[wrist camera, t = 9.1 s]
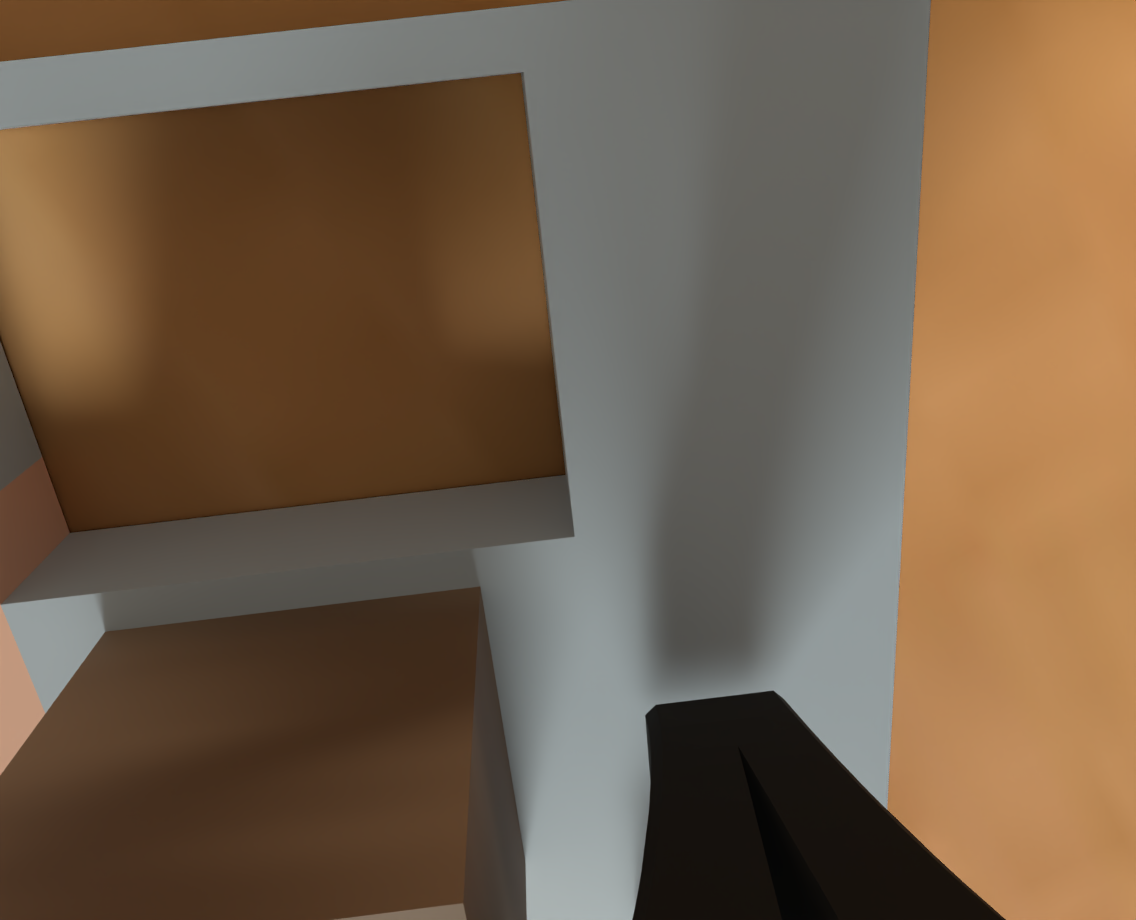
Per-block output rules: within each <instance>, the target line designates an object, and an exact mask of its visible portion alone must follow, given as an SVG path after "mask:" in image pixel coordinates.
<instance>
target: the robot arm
mask: <svg viewBox="0 0 1136 920" xmlns="http://www.w3.org/2000/svg"><path fill="white" fill-rule="evenodd" d="M645 720H646V733H647V745H648V758H649V771H650V801H649V814H648V822H647V830H646V838H645V846H644V854H643V862H642V870H641V877H640V883H639V889H638V894H637V899H636V904H635V909H634V914H633V919H632V920H1005V919H1004V918H1003V917H1002V916H1001V915H1000V914H999V913H998V912H996V911H995V910H994V909H993V908H992V907H991V906H990V905H988V904H987V903H986V902H985V901H984V900H983V899H982V898H980V897H979V896H978V895H977V894H976V893H975V892H974V891H973V890H971V889H970V888H969V887H968V886H967V885H966V884H965V883H964V882H962V881H961V880H960V879H959V878H958V877H957V876H956V875H955V874H954V873H953V872H952V871H951V870H949V869H948V868H947V867H946V866H945V865H944V864H943V863H942V862H941V861H940V860H939V859H938V858H936V857H935V856H934V855H933V854H932V853H931V852H930V851H929V850H928V849H927V848H926V847H925V846H924V845H923V844H922V843H921V842H920V841H919V840H918V839H917V838H916V837H915V836H914V835H913V834H912V833H911V832H910V831H909V830H907V829H906V828H905V827H904V826H903V825H902V824H901V823H900V822H899V821H898V820H897V819H896V818H895V817H894V816H893V815H892V814H891V813H890V812H889V811H888V810H887V809H886V808H885V807H884V806H883V805H882V804H881V803H880V802H879V801H878V800H877V799H876V798H875V797H874V796H873V795H872V794H871V793H870V792H869V791H868V790H867V789H866V788H865V787H864V786H863V785H862V784H861V783H860V782H859V781H858V780H857V779H856V778H855V777H854V775H853V774H852V773H851V772H850V771H849V770H848V769H847V768H846V767H845V766H844V765H843V764H842V763H841V762H840V761H839V760H838V759H837V758H836V756H835V755H834V754H833V753H832V752H831V751H830V750H829V749H828V748H827V747H826V746H825V745H824V743H823V742H822V741H821V740H820V739H819V738H818V737H817V736H816V735H815V734H814V732H813V731H812V730H811V729H810V728H809V727H808V726H807V725H806V724H805V722H804V721H803V720H802V719H801V718H800V717H799V716H798V714H797V713H796V712H795V711H794V710H793V709H792V708H791V706H790V705H789V704H788V703H787V702H786V701H785V700H784V699H783V698H782V697H781V696H780V695H778V694H777V693H776V692H775V691H765V692H757V693H749V694H740V695H732V696H724V697H715V698H707V699H699V700H691V701H682V702H674V703H666V704H657V705H655V706H654V707H653V708H652V709H651V710H650V711H649V712H648V713H647V714H646V715H645Z"/></svg>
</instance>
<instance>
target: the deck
mask: <svg viewBox="0 0 1136 920" xmlns="http://www.w3.org/2000/svg"><path fill="white" fill-rule="evenodd" d="M930 4H931V0H568V1H559V2H550V3H540V4H531V5H522V6H513V7H503V8H494V9H485V10H476V11H466V12H457V13H448V14H439V15H429V16H420V17H411V18H401V19H392V20H383V21H374V22H364V23H355V24H346V25H337V26H327V27H318V28H309V29H300V30H290V31H281V32H272V33H262V34H253V35H244V36H235V37H225V38H216V39H207V40H198V41H188V42H179V43H170V44H161V45H151V46H142V47H133V48H123V49H114V50H105V51H96V52H86V53H77V54H68V55H59V56H49V57H40V58H31V59H22V60H12V61H3V62H0V130H2V129H11V128H20V127H29V126H39V125H48V124H57V123H66V122H75V121H84V120H94V119H103V118H112V117H121V116H130V115H139V114H149V113H158V112H167V111H176V110H185V109H194V108H203V107H213V106H222V105H231V104H240V103H249V102H258V101H268V100H277V99H286V98H295V97H304V96H313V95H322V94H332V93H341V92H350V91H359V90H368V89H377V88H387V87H396V86H405V85H414V84H423V83H432V82H442V81H451V80H460V79H469V78H478V77H487V76H496V75H506V74H515V73H521V78H522V87H523V96H524V105H525V114H526V123H527V132H528V141H529V150H530V159H531V168H532V177H533V186H534V195H535V204H536V213H537V222H538V231H539V240H540V249H541V258H542V266H543V275H544V284H545V293H546V302H547V311H548V320H549V329H550V338H551V347H552V356H553V365H554V374H555V383H556V392H557V401H558V410H559V419H560V428H561V437H562V446H563V455H564V464H565V473H566V475H561V476H552V477H543V478H535V479H526V480H518V481H509V482H501V483H492V484H484V485H475V486H467V487H458V488H450V489H441V490H432V491H424V492H415V493H407V494H398V495H390V496H381V497H373V498H364V499H356V500H347V501H339V502H330V503H322V504H313V505H304V506H296V507H287V508H279V509H270V510H262V511H253V512H245V513H236V514H228V515H219V516H211V517H202V518H193V519H185V520H176V521H168V522H159V523H151V524H142V525H134V526H125V527H117V528H108V529H100V530H91V531H82V532H74V533H70V532H69V529H68V527H67V524H66V521H65V518H64V516H63V513H62V510H61V507H60V505H59V502H58V499H57V496H56V494H55V491H54V488H53V485H52V483H51V480H50V477H49V474H48V471H47V469H46V466H45V463H44V460H43V458H42V455H41V452H40V449H39V447H38V444H37V441H36V438H35V436H34V433H33V430H32V427H31V425H30V422H29V419H28V416H27V414H26V411H25V408H24V405H23V403H22V400H21V397H20V394H19V392H18V389H17V386H16V383H15V381H14V378H13V375H12V372H11V370H10V367H9V364H8V361H7V358H6V356H5V353H4V350H3V347H2V345H1V342H0V775H1V774H2V772H3V771H4V770H5V768H6V767H7V766H8V764H9V763H10V761H11V760H12V759H13V757H14V756H15V755H16V753H17V752H18V750H19V749H20V748H21V746H22V745H23V744H24V742H25V741H26V739H27V738H28V737H29V735H30V734H31V733H32V731H33V730H34V729H35V727H36V726H37V724H38V723H39V722H40V720H41V719H42V718H43V716H44V715H45V713H46V712H47V711H48V709H49V708H50V707H51V705H52V704H53V702H54V701H55V700H56V698H57V697H58V696H59V694H60V693H61V691H62V690H63V689H64V687H65V686H66V685H67V683H68V682H69V681H70V679H71V678H72V676H73V675H74V674H75V672H76V671H77V670H78V668H79V667H80V665H81V664H82V663H83V661H84V660H85V659H86V657H87V656H88V654H89V653H90V652H91V650H92V649H93V648H94V646H95V645H96V643H97V642H98V641H99V639H100V638H101V637H102V635H103V634H104V633H105V632H107V631H115V630H123V629H132V628H140V627H148V626H157V625H165V624H173V623H181V622H190V621H198V620H206V619H215V618H223V617H231V616H239V615H248V614H256V613H264V612H273V611H281V610H289V609H297V608H306V607H314V606H322V605H331V604H339V603H347V602H356V601H364V600H372V599H380V598H389V597H397V596H405V595H414V594H422V593H430V592H438V591H447V590H455V589H463V588H472V587H481V593H482V599H483V605H484V612H485V618H486V624H487V630H488V636H489V642H490V648H491V654H492V660H493V667H494V673H495V679H496V685H497V691H498V697H499V703H500V709H501V715H502V722H503V728H504V734H505V740H506V746H507V752H508V758H509V764H510V771H511V777H512V783H513V789H514V795H515V801H516V807H517V813H518V819H519V826H520V832H521V838H522V844H523V850H524V856H525V863H526V908H527V920H632V919H633V914H634V909H635V904H636V899H637V894H638V889H639V883H640V877H641V870H642V862H643V854H644V846H645V838H646V830H647V822H648V814H649V801H650V771H649V758H648V745H647V733H646V720H645V715H646V714H647V713H648V712H649V711H650V710H651V709H652V708H653V707H654V706H655V705H657V704H666V703H674V702H682V701H691V700H699V699H707V698H715V697H724V696H732V695H740V694H749V693H757V692H765V691H775V692H776V693H777V694H778V695H780V696H781V697H782V698H783V699H784V700H785V701H786V702H787V703H788V704H789V705H790V706H791V708H792V709H793V710H794V711H795V712H796V713H797V714H798V716H799V717H800V718H801V719H802V720H803V721H804V722H805V724H806V725H807V726H808V727H809V728H810V729H811V730H812V731H813V732H814V734H815V735H816V736H817V737H818V738H819V739H820V740H821V741H822V742H823V743H824V745H825V746H826V747H827V748H828V749H829V750H830V751H831V752H832V753H833V754H834V755H835V756H836V758H837V759H838V760H839V761H840V762H841V763H842V764H843V765H844V766H845V767H846V768H847V769H848V770H849V771H850V772H851V773H852V774H853V775H854V777H855V778H856V779H857V780H858V781H859V782H860V783H861V784H862V785H863V786H864V787H865V788H866V789H867V790H868V791H869V792H870V793H871V794H872V795H873V796H874V797H875V798H876V799H877V800H878V801H879V802H880V803H881V804H882V805H883V806H884V807H885V808H886V809H887V801H888V782H889V764H890V745H891V727H892V708H893V690H894V671H895V653H896V634H897V616H898V597H899V579H900V560H901V542H902V523H903V505H904V486H905V467H906V449H907V430H908V412H909V393H910V375H911V356H912V338H913V319H914V301H915V282H916V264H917V245H918V227H919V208H920V190H921V171H922V153H923V134H924V115H925V97H926V78H927V60H928V41H929V23H930Z"/></svg>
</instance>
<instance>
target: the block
mask: <svg viewBox="0 0 1136 920" xmlns="http://www.w3.org/2000/svg"><path fill="white" fill-rule="evenodd" d="M0 920H527V908H526V863H525V856H524V850H523V844H522V838H521V832H520V826H519V819H518V813H517V807H516V801H515V795H514V789H513V783H512V777H511V771H510V764H509V758H508V752H507V746H506V740H505V734H504V728H503V722H502V715H501V709H500V703H499V697H498V691H497V685H496V679H495V673H494V667H493V660H492V654H491V648H490V642H489V636H488V630H487V624H486V618H485V612H484V605H483V599H482V593H481V587H472V588H463V589H455V590H447V591H438V592H430V593H422V594H414V595H405V596H397V597H389V598H380V599H372V600H364V601H356V602H347V603H339V604H331V605H322V606H314V607H306V608H297V609H289V610H281V611H273V612H264V613H256V614H248V615H239V616H231V617H223V618H215V619H206V620H198V621H190V622H181V623H173V624H165V625H157V626H148V627H140V628H132V629H123V630H115V631H107V632H105V633H104V634H103V635H102V637H101V638H100V639H99V641H98V642H97V643H96V645H95V646H94V648H93V649H92V650H91V652H90V653H89V654H88V656H87V657H86V659H85V660H84V661H83V663H82V664H81V665H80V667H79V668H78V670H77V671H76V672H75V674H74V675H73V676H72V678H71V679H70V681H69V682H68V683H67V685H66V686H65V687H64V689H63V690H62V691H61V693H60V694H59V696H58V697H57V698H56V700H55V701H54V702H53V704H52V705H51V707H50V708H49V709H48V711H47V712H46V713H45V715H44V716H43V718H42V719H41V720H40V722H39V723H38V724H37V726H36V727H35V729H34V730H33V731H32V733H31V734H30V735H29V737H28V738H27V739H26V741H25V742H24V744H23V745H22V746H21V748H20V749H19V750H18V752H17V753H16V755H15V756H14V757H13V759H12V760H11V761H10V763H9V764H8V766H7V767H6V768H5V770H4V771H3V772H2V774H1V775H0Z"/></svg>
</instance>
